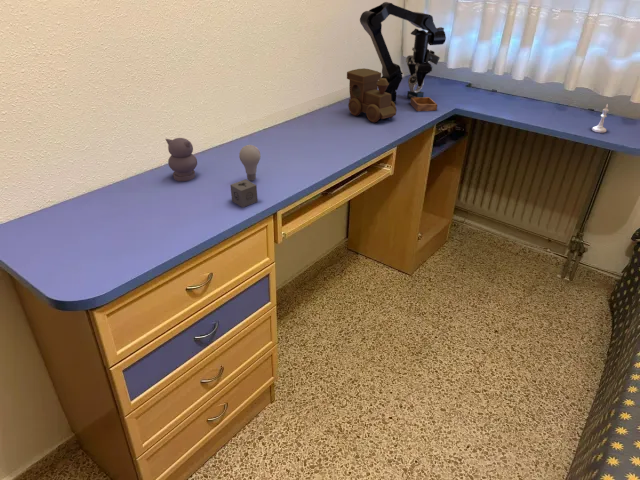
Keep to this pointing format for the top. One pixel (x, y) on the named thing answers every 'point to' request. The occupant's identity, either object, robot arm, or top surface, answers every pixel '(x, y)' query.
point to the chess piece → (601, 122)
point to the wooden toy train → (369, 95)
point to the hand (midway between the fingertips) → (416, 83)
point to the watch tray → (423, 104)
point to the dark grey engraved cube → (244, 193)
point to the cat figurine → (181, 159)
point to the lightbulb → (250, 160)
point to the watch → (412, 83)
